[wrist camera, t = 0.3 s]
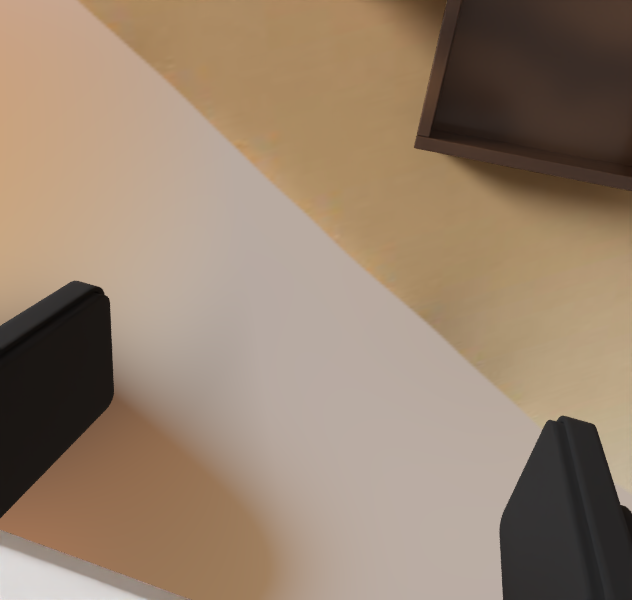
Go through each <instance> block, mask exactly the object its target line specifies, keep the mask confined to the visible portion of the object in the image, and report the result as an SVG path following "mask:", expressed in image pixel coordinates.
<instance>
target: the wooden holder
mask: <svg viewBox="0 0 632 600" xmlns="http://www.w3.org/2000/svg"><path fill="white" fill-rule="evenodd" d="M414 148H416V149H421V150H426V151H432V152H437V153H442V154H447V155H452V156H457V157H462V158H467V159H472V160H477V161H482V162H487V163H492V164H497V165H502V166H507V167H513V168H518V169H523V170H528V171H533V172H538V173H543V174H548V175H553V176H558V177H563V178H568V179H573V180H578V181H583V182H588V183H594V184H599V185H604V186H609V187H614V188H619V189H624V190H629V191H632V0H447V3H446V7H445V12H444V16H443V21H442V25H441V30H440V34H439V38H438V43H437V47H436V52H435V56H434V61H433V65H432V70H431V74H430V78H429V83H428V87H427V92H426V96H425V101H424V105H423V109H422V114H421V118H420V123H419V127H418V132H417V136H416V140H415V145H414Z"/></svg>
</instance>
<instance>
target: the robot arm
mask: <svg viewBox="0 0 632 600" xmlns="http://www.w3.org/2000/svg"><path fill="white" fill-rule="evenodd" d="M113 395H114V383H113V361H112V339H111V317H110V301H109V298H108V297H107V296H105V295H104V292H103V290H102V289H101V288H100V287H97V286H94V285H90V284H87V283H83V282H79V281H73V282H70V283H68V284H67V285H65V286H64V287H62V288H60V289H59V290H57V291H56V292H54V293H53V294H51V295H49V296H48V297H46V298H44V299H43V300H41V301H39V302H38V303H36V304H35V305H33V306H31V307H30V308H28V309H27V310H25V311H24V312H22V313H20V314H19V315H17V316H15V317H14V318H12V319H11V320H9V321H7V322H6V323H4V324H2V325H1V326H0V518H1V517H2V516H3V515H4V514H5V513H6V512H7V511H8V510H9V509H10V508H11V507H12V506H13V504H15V502H17V500H18V499H19V498H20V497H21V496H22V495H23V494H24V493H25V492H26V491H27V490H28V489H29V488H30V487H31V486H32V485H33V484H34V483H35V482H36V481H37V480H38V479H39V478H40V477H41V476H42V475H43V474H44V473H45V472H46V471H47V470H48V469H49V468H50V467H51V465H53V463H54V462H55V461H56V460H57V459H58V458H59V457H60V456H61V455H62V454H63V453H64V452H65V451H66V450H67V449H68V448H69V447H70V446H71V445H72V444H73V443H74V442H75V441H76V440H77V439H78V438H79V437H80V436H81V435H82V434H83V433H84V432H85V431H86V429H87V428H89V426H90V425H91V424H92V423H93V422H94V421H95V420H96V419H97V418H98V417H99V416H100V415H101V414H102V413H103V412H104V411H105V410H106V409H107V408H108V407H109V405H110V403H111V401H112V398H113ZM500 550H501V569H502V587H503V600H632V513H631V511H630V510H629V509H628V508H627V507H625V506H622V505H620V502H619V499H618V496H617V492H616V489H615V486H614V483H613V479H612V476H611V473H610V470H609V467H608V463H607V460H606V457H605V454H604V451H603V448H602V444H601V441H600V438H599V435H598V432H597V429H596V427H595V425H594V424H592V423H588V422H584V421H581V420H577V419H574V418H570V417H566V416H560V417H559V418H558V420H557V421H552V420H548V421H547V422H546V424H545V426H544V428H543V430H542V432H541V434H540V436H539V439H538V440H537V443H536V445H535V447H534V449H533V451H532V453H531V455H530V457H529V460H528V462H527V464H526V466H525V468H524V470H523V472H522V474H521V476H520V478H519V480H518V483H517V485H516V487H515V489H514V491H513V493H512V495H511V497H510V499H509V502H508V504H507V506H506V508H505V510H504V512H503V515H502V518H501V523H500ZM0 600H191V599H188V598H185V597H183V596H180V595H177V594H175V593H172V592H169V591H167V590H164V589H161V588H158V587H156V586H153V585H150V584H148V583H145V582H142V581H139V580H137V579H134V578H131V577H128V576H126V575H123V574H120V573H118V572H115V571H112V570H109V569H107V568H104V567H101V566H98V565H96V564H93V563H91V562H88V561H85V560H82V559H80V558H77V557H74V556H71V555H69V554H66V553H63V552H60V551H58V550H55V549H52V548H49V547H46V546H44V545H41V544H38V543H35V542H33V541H30V540H27V539H24V538H22V537H19V536H16V535H13V534H11V533H8V532H5V531H2V530H0Z"/></svg>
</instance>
